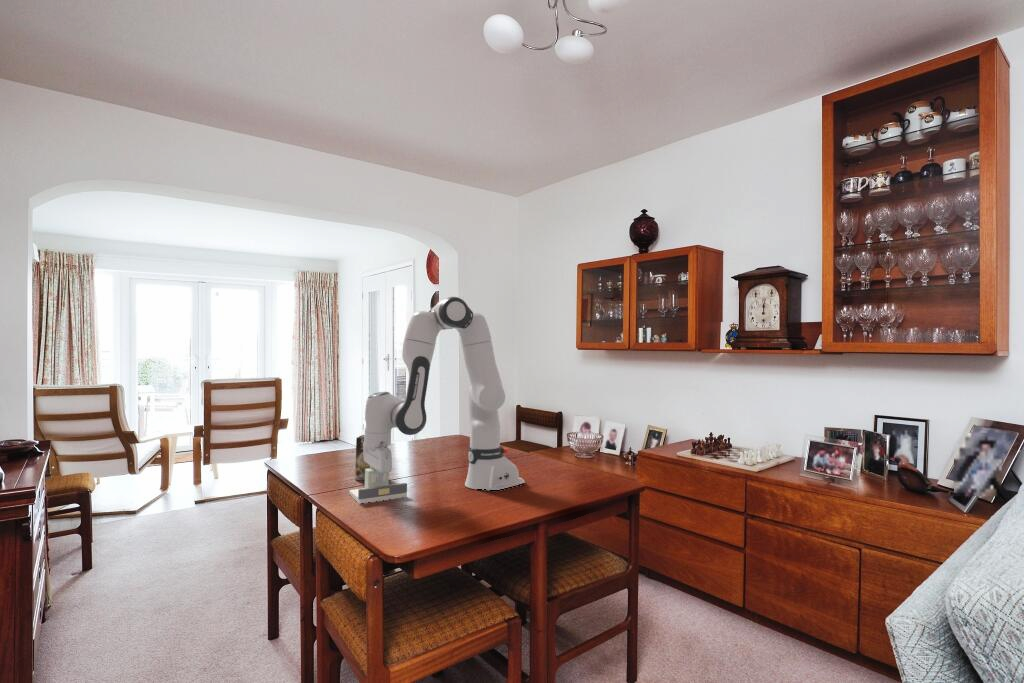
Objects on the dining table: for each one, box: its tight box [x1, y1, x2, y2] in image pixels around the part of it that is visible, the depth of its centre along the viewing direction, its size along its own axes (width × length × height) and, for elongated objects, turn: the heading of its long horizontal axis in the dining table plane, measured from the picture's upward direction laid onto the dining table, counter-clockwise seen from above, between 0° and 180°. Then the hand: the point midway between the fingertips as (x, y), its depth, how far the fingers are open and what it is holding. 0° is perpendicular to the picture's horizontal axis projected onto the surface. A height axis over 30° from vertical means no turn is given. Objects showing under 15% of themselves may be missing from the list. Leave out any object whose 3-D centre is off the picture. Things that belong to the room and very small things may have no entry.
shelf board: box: [348, 482, 408, 505], centre depth 172 cm, size 16×12×4 cm
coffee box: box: [354, 434, 370, 481], centre depth 194 cm, size 9×6×16 cm
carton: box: [364, 468, 390, 488], centre depth 173 cm, size 4×7×6 cm, turn 122°
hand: (376, 480), depth 173 cm, fingers closed on carton, 4 cm apart
